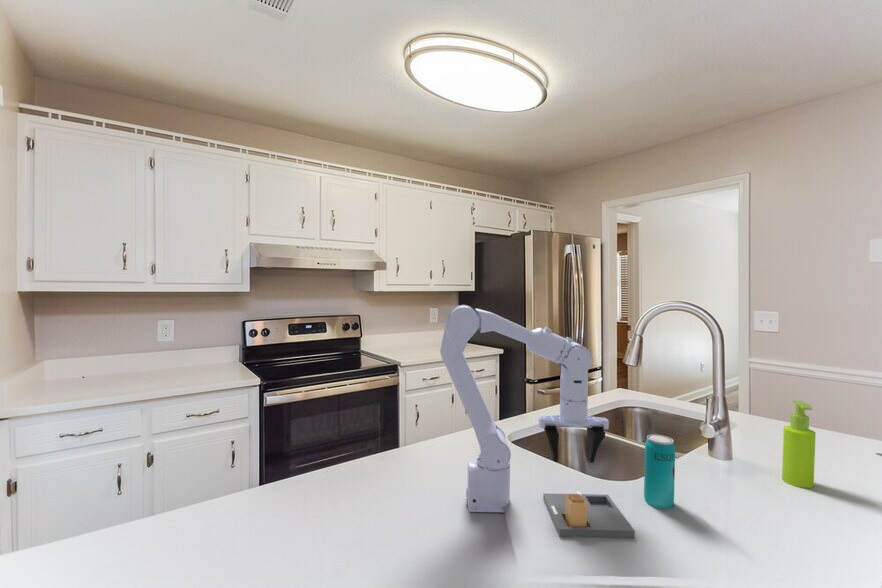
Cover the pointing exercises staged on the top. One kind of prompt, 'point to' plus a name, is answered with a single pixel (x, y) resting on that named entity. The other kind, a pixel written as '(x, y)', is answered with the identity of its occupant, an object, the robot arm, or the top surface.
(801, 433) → the soap dispenser
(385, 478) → the top surface
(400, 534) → the top surface
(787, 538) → the top surface
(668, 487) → the beverage can
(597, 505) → the socket board
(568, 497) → the orange plug
